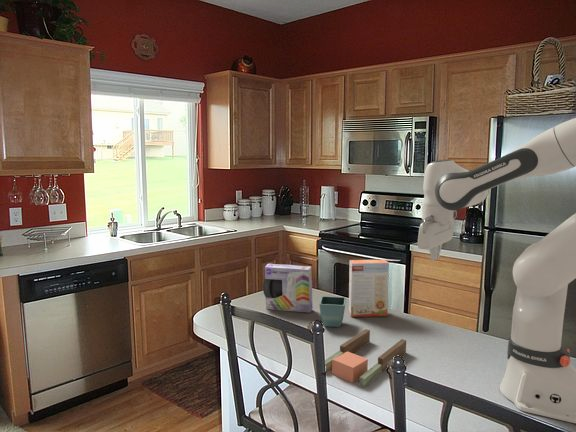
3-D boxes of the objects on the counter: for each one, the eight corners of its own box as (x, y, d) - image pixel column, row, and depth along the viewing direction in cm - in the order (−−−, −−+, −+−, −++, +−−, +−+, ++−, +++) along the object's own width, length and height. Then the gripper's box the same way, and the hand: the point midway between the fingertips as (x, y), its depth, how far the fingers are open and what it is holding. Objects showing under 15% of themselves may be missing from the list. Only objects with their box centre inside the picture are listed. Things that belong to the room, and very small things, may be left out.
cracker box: (383, 311, 174) (385, 258, 171) (387, 317, 168) (389, 262, 165) (347, 311, 173) (349, 258, 170) (350, 317, 167) (352, 262, 164)
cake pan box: (262, 309, 176) (262, 265, 173) (266, 304, 181) (266, 262, 178) (309, 314, 170) (310, 269, 168) (312, 309, 175) (313, 266, 172)
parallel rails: (405, 352, 138) (406, 340, 138) (364, 387, 118) (364, 373, 117) (365, 340, 147) (365, 329, 146) (320, 371, 126) (320, 358, 126)
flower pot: (318, 328, 157) (319, 303, 156) (321, 319, 165) (321, 295, 164) (344, 330, 155) (344, 305, 154) (345, 320, 164) (345, 297, 163)
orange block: (367, 374, 125) (367, 359, 125) (352, 383, 120) (353, 367, 120) (347, 366, 130) (347, 351, 129) (332, 374, 125) (332, 359, 124)
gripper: (435, 219, 124) (432, 267, 126) (458, 211, 140) (456, 254, 142) (413, 217, 128) (411, 264, 130) (438, 209, 144) (436, 251, 146)
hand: (434, 259), depth 136 cm, fingers closed
